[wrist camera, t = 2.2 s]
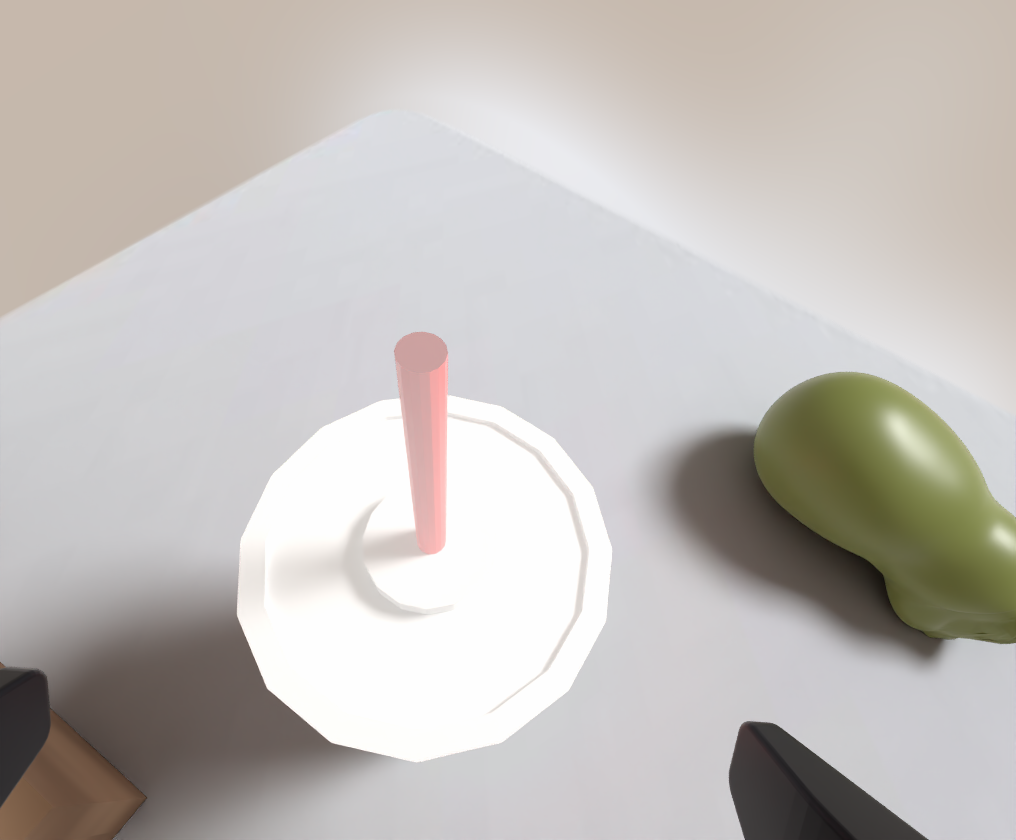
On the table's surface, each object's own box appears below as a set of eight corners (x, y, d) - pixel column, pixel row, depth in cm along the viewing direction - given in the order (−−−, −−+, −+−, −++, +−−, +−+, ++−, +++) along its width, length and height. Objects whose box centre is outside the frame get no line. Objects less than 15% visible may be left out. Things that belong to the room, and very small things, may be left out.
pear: (877, 315, 18) (1138, 547, 16) (774, 390, 23) (968, 577, 21) (794, 403, 16) (1089, 687, 14) (698, 466, 21) (910, 685, 19)
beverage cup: (541, 763, 15) (868, 754, 3) (315, 765, 15) (-195, 760, 3) (534, 550, 19) (690, 173, 7) (349, 545, 18) (170, 126, 6)
